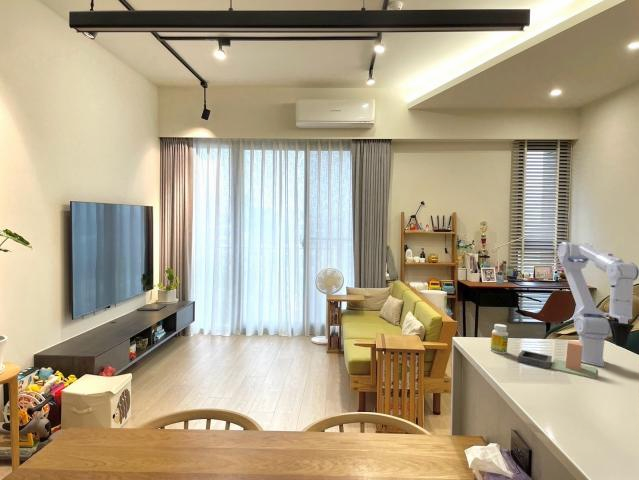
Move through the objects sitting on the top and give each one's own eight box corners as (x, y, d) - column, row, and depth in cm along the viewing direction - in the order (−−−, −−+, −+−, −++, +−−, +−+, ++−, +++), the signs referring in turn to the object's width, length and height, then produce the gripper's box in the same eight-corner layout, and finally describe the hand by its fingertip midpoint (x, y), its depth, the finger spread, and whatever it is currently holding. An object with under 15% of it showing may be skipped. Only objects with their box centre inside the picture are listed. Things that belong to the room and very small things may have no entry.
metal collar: (521, 355, 140) (522, 350, 140) (551, 362, 135) (551, 356, 135) (517, 361, 133) (518, 355, 133) (548, 368, 127) (549, 362, 127)
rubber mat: (554, 359, 137) (554, 358, 137) (596, 369, 131) (596, 367, 131) (550, 368, 128) (550, 367, 128) (596, 379, 121) (596, 377, 121)
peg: (566, 364, 132) (568, 340, 132) (580, 367, 130) (582, 343, 129) (565, 367, 129) (567, 343, 128) (580, 370, 126) (582, 345, 126)
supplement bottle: (494, 348, 147) (496, 322, 146) (509, 352, 143) (511, 325, 143) (487, 351, 143) (490, 324, 143) (503, 355, 139) (505, 327, 139)
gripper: (603, 297, 134) (601, 338, 134) (608, 300, 121) (606, 345, 121) (629, 300, 130) (627, 341, 130) (637, 303, 118) (635, 349, 118)
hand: (619, 343), depth 125 cm, fingers open, 7 cm apart
